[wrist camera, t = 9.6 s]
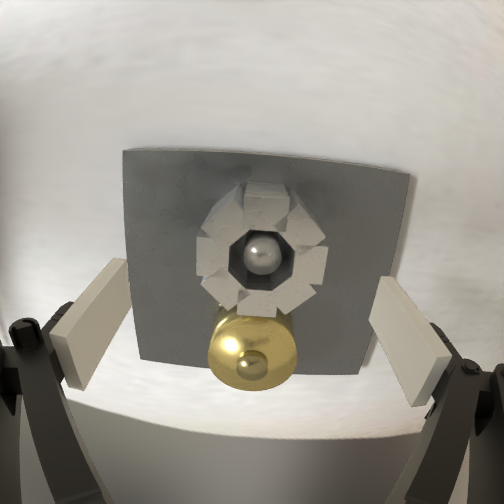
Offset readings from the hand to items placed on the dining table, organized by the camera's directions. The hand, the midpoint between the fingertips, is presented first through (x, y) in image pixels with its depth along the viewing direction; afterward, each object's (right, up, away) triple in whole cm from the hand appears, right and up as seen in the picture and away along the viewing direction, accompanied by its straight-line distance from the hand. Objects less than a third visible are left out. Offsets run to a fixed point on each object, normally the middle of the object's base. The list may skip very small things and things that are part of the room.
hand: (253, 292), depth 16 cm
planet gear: (+1, +3, +8) cm, 9 cm away
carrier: (0, 0, +11) cm, 11 cm away
